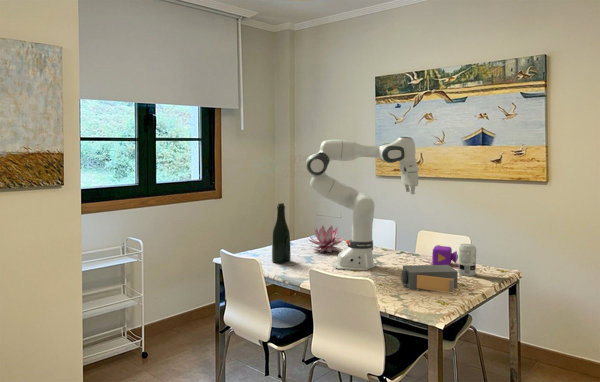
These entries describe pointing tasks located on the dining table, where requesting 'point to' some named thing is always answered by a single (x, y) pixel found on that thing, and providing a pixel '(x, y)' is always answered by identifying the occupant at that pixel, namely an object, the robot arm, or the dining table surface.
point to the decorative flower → (326, 239)
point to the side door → (435, 283)
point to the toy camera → (443, 255)
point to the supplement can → (467, 260)
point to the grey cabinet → (427, 274)
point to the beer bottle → (281, 237)
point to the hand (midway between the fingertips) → (410, 193)
